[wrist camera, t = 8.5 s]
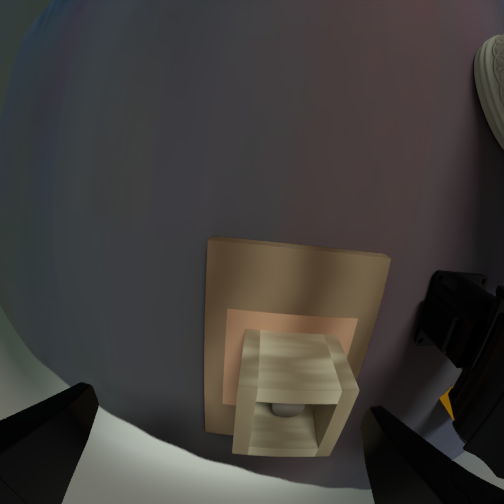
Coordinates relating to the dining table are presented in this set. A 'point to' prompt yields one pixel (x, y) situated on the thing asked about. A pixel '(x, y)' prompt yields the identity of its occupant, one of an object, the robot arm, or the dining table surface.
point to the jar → (491, 83)
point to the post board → (282, 308)
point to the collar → (292, 394)
